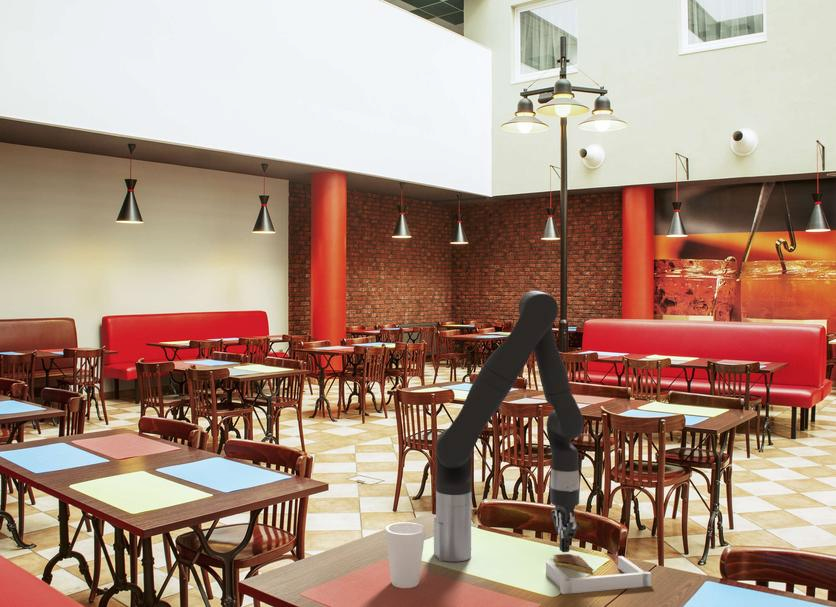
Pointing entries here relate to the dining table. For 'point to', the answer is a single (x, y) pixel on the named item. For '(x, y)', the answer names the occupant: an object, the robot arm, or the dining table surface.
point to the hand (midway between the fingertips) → (564, 551)
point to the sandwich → (572, 562)
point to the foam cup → (405, 552)
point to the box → (601, 579)
